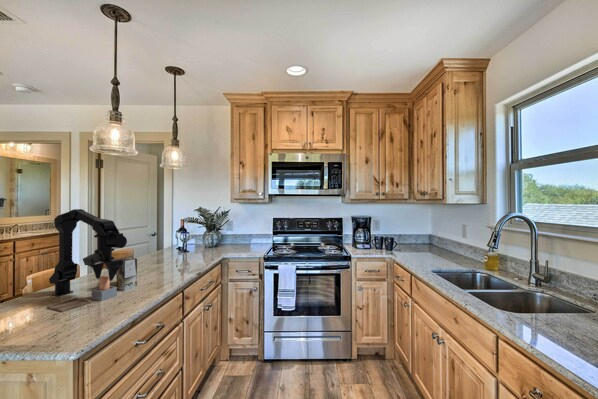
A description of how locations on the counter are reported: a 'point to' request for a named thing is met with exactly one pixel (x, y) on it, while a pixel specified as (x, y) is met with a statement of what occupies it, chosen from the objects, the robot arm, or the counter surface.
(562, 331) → the counter surface
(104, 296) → the open box
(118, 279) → the coffee box
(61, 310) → the tray
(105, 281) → the dowel
